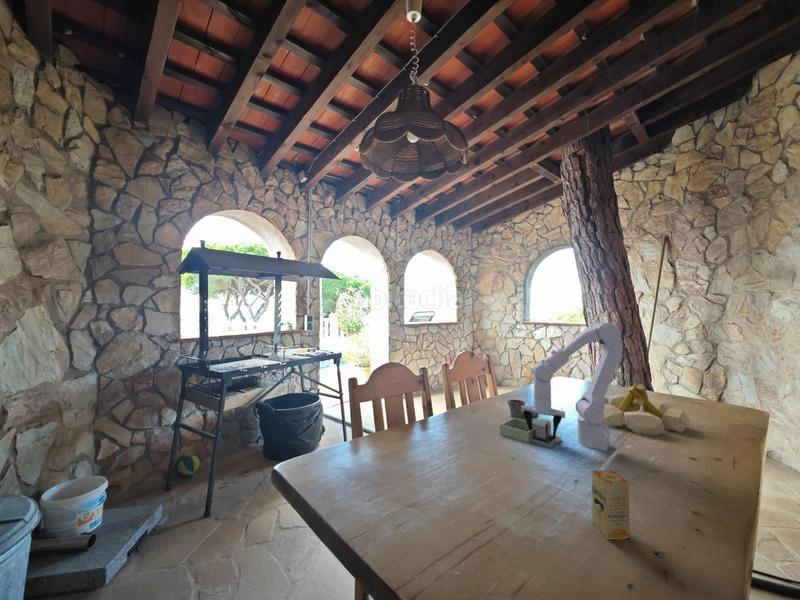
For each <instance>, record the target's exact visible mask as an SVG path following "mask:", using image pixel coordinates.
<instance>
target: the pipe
mask: <svg viewBox="0 0 800 600" xmlns="http://www.w3.org/2000/svg"><path fill="white" fill-rule="evenodd" d="M506 402H507V404H508V407H509V412H510V418H511V419H512V418H517V419H521V420H523V419H525V418H524V415H523V414H524V412H521V406H522V405H524V406H525V404H526V403H525V401H523V400H520V399H508V400H507V401H506ZM538 418H539V414H536V413H532V420H533V419H538Z"/></svg>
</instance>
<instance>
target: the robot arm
mask: <svg viewBox="0 0 800 600" xmlns="http://www.w3.org/2000/svg"><path fill="white" fill-rule="evenodd" d="M621 337H622V332H621V331H620V329H619V328H618V326H616V324H614V323H612V322H601V321H595V322H593V323H591V324H590V325H589V326H587V327H585V328H584V329H583V330H582V331H581V332H580V333H579V334H578V335H577V336H576V337H574V338H573V339H571V341H570V342H569V343H568V344H566V345H565V346H564V347H563V348H562V349H560V348H556V349H552V350H551V351H550V354H548V355H547V356H546V357H545V358H544V359H543V358H541V360H540V362H537V363H535V364H534V365H533V367H532V369H531V373H532V374H533V405H525V404H524V405H522V406H521V412H524V414H523V415H524V418H523V419H524V420H525V421H526V422H527V424H528V427H529V431H530V430H531V429H533V427H532V422H533V419H532V413H536V414H538V415H542V416H543V415H544V416H551V417H553V418H552V423H553V424H552V425H553V426H552V427H553V428H552V429H553V431H552V435H553V437H554V438H555V437H556V436H557V430H558V428H559V426H560V424H561V421H562V419H566V411H564V410H559V409H556V408H552V383H551V382H552V381H551V380H552V379H553V377H554V373H556V372H558V371H559V370H560V369H561V368H562V367H564V366H565V365H566V364H568V363H569V362H570V357H571V356H573V354H575V353H576V352H578V351H579V350H580V349H582V348H583V347H585V346H586V345H587V344H591V343H598V344H599V346H600V347H601V349H602V354H601V356H600V358H599V360H598V364H597V365H596V369H595V371H594V373H593V375H592V378H591V380H590V384H589V386H588V388H587V391H585V392H584V393H583V394H582V396H581V398H580V399H578V400H577V401H576V403H575V410H576V412H577V413H578V417H577V440H578V441H577V442H578V444H579V445H580V446H582V447H585V448H590V449H595V450H598V451H603V452H606V451H607V450H609V448H611V429H610V426H608V425H605V424H603V423H601V422H602V421H603V419H604V408H605V402H604V398H606V397H605V396H606V394H607V391H608V389H609V386H610V384H611V381H612V379H613V376H614V373H615V372H616V369H617V367H618V364H619V362H620V359H621V357H622V354H623V351H624V349H623V343H622V339H621Z"/></svg>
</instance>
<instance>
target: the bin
mask: <svg viewBox="0 0 800 600" xmlns="http://www.w3.org/2000/svg"><path fill="white" fill-rule="evenodd" d="M532 427H533V429H531V430H530V431H529V427H528V424H527V422H526V419H517V418H511V419H508V420H506V421H504V422H503V423H500V424H499V435H501V436H503V437H507V438H511V439H514V440H517V441H521V442H524V443H527V444H529V442H530V438H533V439H535V422H533V421H532Z"/></svg>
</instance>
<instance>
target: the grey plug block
mask: <svg viewBox="0 0 800 600" xmlns="http://www.w3.org/2000/svg"><path fill="white" fill-rule="evenodd" d="M534 423H535V439H537V440H540V441H544V442H547V443H548V442H550V441H551V435H552V421H551V420H550V419H546V418H539V419H537V420H536V421H535V422H534Z"/></svg>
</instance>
